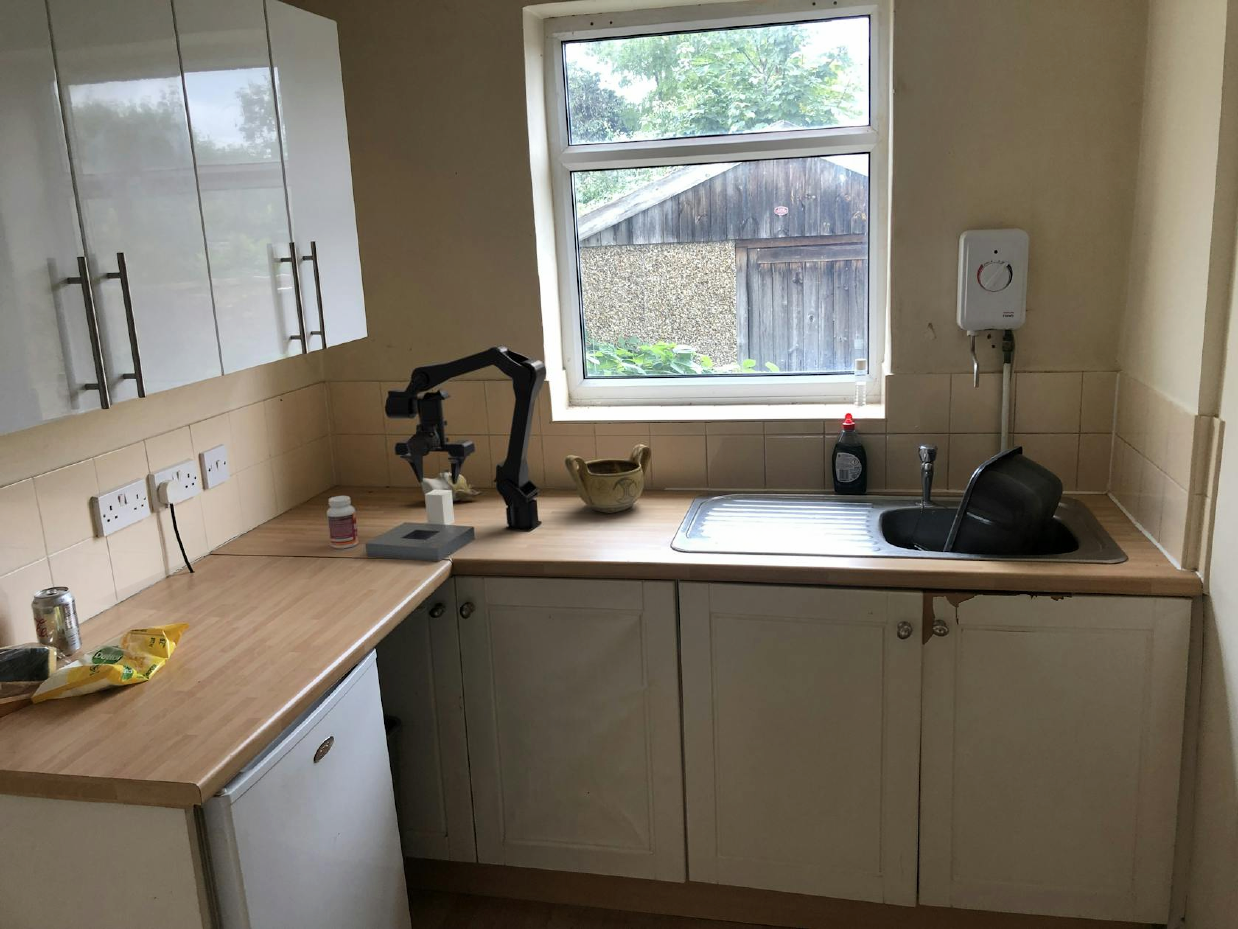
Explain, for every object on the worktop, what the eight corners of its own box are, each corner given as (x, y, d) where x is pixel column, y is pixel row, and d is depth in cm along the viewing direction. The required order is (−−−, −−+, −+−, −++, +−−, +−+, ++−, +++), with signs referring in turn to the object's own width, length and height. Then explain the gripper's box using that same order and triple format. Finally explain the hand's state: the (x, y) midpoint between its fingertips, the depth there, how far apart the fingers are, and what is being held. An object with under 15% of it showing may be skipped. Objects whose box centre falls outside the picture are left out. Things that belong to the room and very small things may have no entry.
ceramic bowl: (587, 525, 231) (583, 462, 228) (554, 509, 246) (550, 450, 242) (667, 508, 242) (665, 448, 239) (632, 494, 257) (629, 437, 253)
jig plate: (475, 539, 225) (473, 526, 225) (438, 562, 211) (437, 548, 210) (406, 534, 232) (405, 522, 231) (366, 556, 217) (365, 543, 216)
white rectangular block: (454, 522, 240) (451, 490, 238) (444, 527, 236) (441, 495, 234) (437, 521, 241) (434, 489, 239) (427, 526, 237) (424, 494, 235)
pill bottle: (362, 545, 225) (357, 498, 223) (335, 551, 222) (330, 503, 219) (353, 539, 230) (348, 493, 228) (327, 544, 227) (321, 498, 224)
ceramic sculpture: (416, 467, 260) (472, 463, 266) (417, 499, 262) (472, 494, 267) (424, 476, 250) (482, 471, 256) (426, 509, 252) (483, 504, 258)
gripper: (377, 424, 228) (385, 490, 232) (448, 426, 222) (455, 493, 225) (404, 415, 239) (410, 478, 242) (472, 416, 232) (478, 481, 236)
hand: (437, 483), depth 236 cm, fingers open, 9 cm apart
